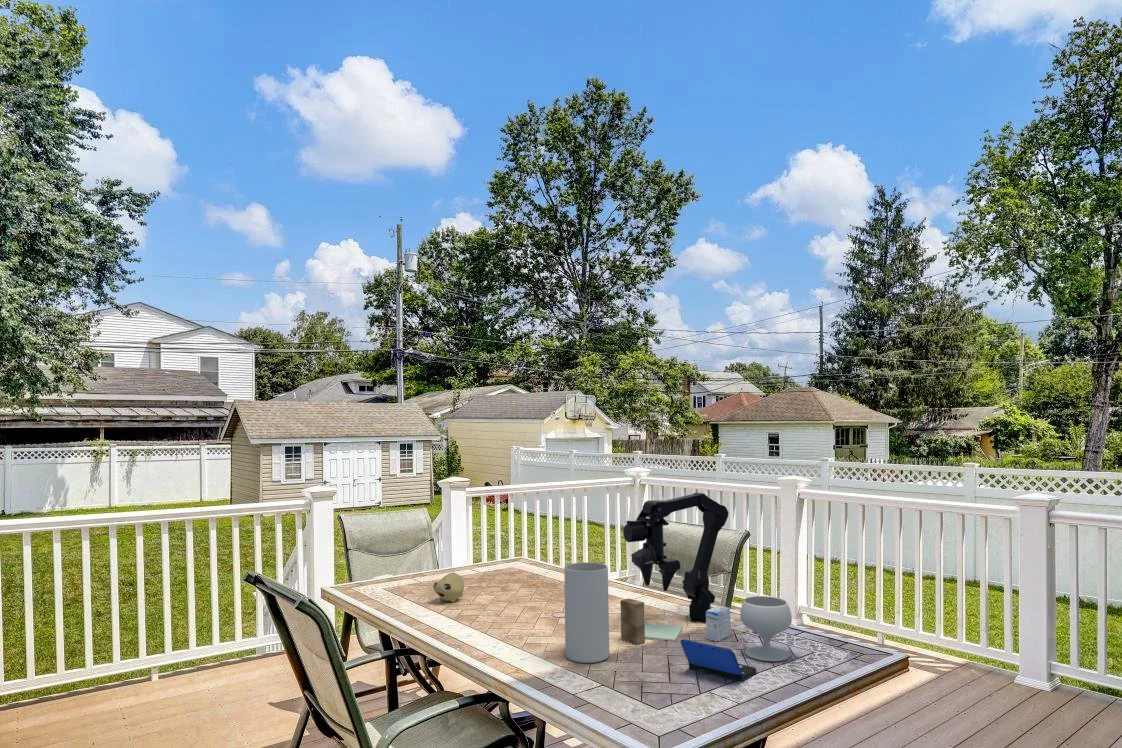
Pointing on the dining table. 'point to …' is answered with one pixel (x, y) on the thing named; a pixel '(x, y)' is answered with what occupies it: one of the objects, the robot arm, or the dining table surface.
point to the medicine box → (717, 623)
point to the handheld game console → (715, 661)
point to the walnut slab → (632, 621)
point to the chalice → (766, 624)
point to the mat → (662, 632)
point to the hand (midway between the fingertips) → (656, 588)
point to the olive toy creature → (449, 587)
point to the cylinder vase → (586, 612)
